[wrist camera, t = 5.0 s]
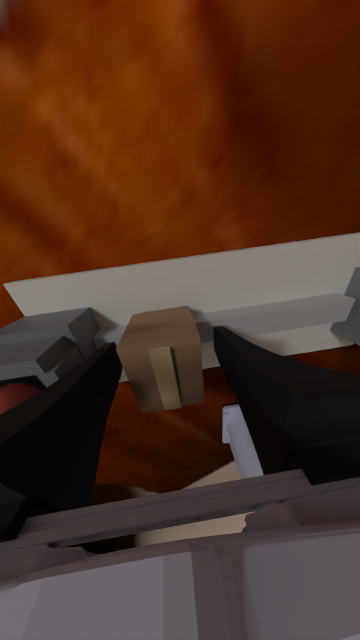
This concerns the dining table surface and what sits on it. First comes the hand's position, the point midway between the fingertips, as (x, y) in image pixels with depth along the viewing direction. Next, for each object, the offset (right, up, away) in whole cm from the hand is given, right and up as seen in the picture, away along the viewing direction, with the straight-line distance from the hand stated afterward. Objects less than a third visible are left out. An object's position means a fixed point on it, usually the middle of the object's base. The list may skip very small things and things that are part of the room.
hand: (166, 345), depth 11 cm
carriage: (0, +1, +2) cm, 2 cm away
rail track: (+4, +2, +3) cm, 6 cm away
